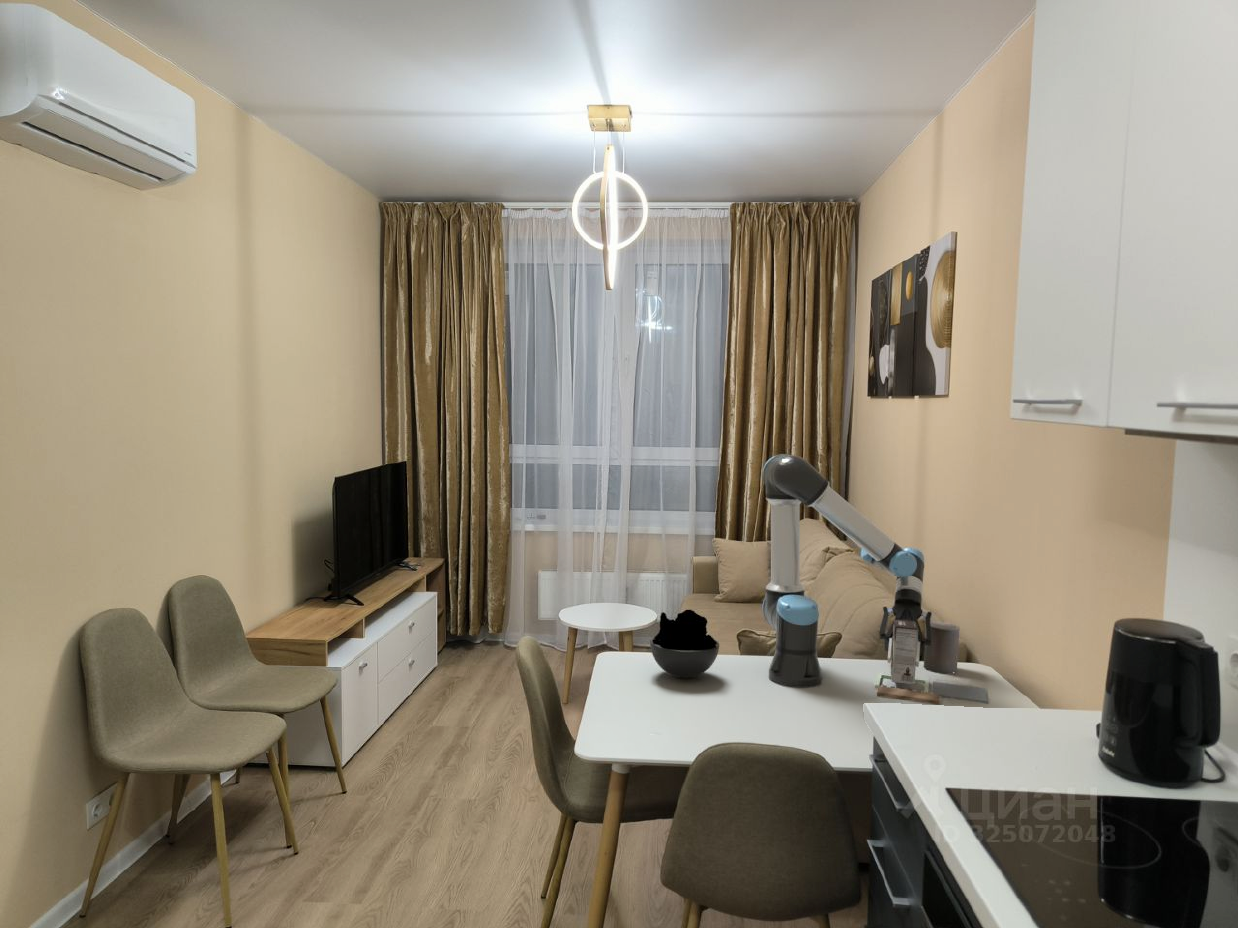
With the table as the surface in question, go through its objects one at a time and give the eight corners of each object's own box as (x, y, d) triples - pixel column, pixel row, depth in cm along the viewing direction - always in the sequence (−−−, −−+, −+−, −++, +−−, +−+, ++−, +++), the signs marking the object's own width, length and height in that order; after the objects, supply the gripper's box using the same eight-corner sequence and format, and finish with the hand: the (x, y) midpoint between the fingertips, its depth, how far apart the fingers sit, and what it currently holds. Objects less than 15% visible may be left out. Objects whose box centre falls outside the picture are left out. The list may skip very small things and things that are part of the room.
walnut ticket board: (876, 695, 220) (876, 692, 220) (878, 689, 225) (878, 685, 225) (939, 704, 214) (939, 700, 214) (939, 697, 219) (939, 694, 219)
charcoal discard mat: (931, 695, 221) (932, 693, 221) (932, 683, 232) (932, 681, 232) (987, 703, 216) (987, 701, 216) (985, 690, 227) (985, 688, 227)
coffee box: (889, 672, 235) (893, 618, 234) (912, 675, 233) (916, 620, 232) (891, 681, 226) (895, 625, 225) (915, 684, 224) (919, 628, 224)
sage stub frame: (875, 687, 227) (875, 684, 227) (878, 675, 238) (878, 673, 238) (928, 695, 222) (928, 692, 221) (928, 682, 233) (928, 679, 233)
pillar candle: (919, 669, 246) (922, 621, 245) (927, 662, 254) (930, 615, 253) (953, 676, 240) (956, 626, 239) (960, 668, 248) (963, 620, 247)
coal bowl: (722, 669, 240) (724, 607, 239) (712, 690, 221) (715, 622, 220) (657, 663, 245) (659, 602, 244) (642, 682, 226) (644, 616, 225)
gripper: (943, 605, 239) (940, 674, 225) (874, 598, 247) (866, 664, 232) (944, 591, 234) (941, 660, 220) (873, 583, 242) (866, 650, 227)
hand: (903, 662), depth 226 cm, fingers closed on coffee box, 7 cm apart
